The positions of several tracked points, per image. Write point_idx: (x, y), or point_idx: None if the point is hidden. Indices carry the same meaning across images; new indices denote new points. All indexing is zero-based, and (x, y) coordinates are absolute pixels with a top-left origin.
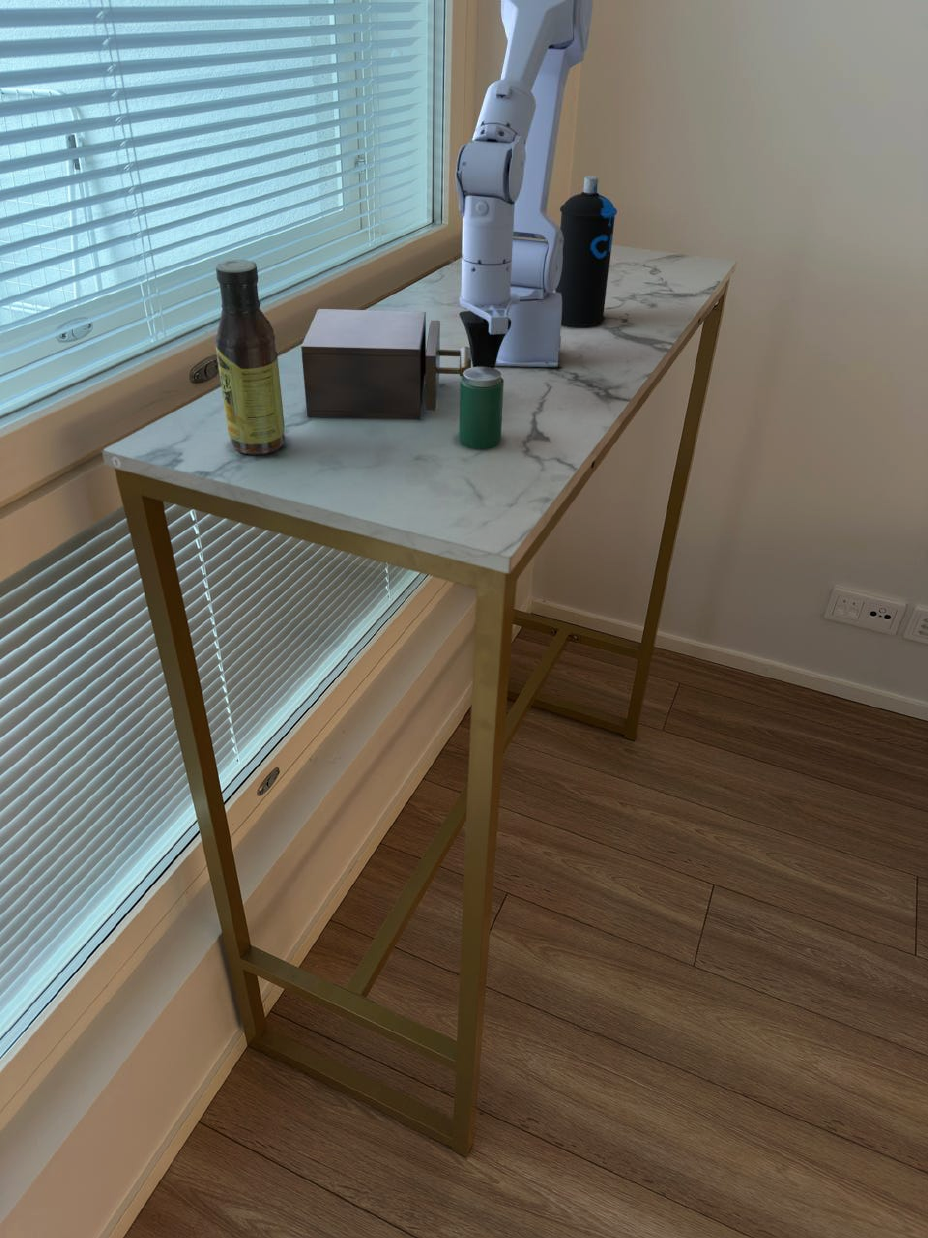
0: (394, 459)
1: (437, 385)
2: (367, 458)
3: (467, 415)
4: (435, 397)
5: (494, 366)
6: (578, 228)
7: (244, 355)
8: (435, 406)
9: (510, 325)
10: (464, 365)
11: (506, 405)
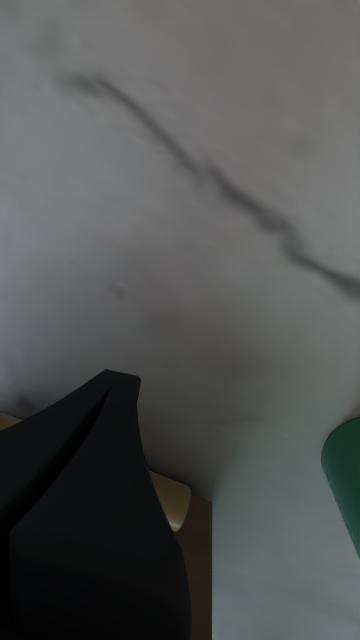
0: (356, 599)
1: None
2: (327, 624)
3: None
4: (211, 535)
5: (136, 387)
6: None
7: None
8: (211, 511)
9: (172, 564)
10: None
11: (202, 308)
